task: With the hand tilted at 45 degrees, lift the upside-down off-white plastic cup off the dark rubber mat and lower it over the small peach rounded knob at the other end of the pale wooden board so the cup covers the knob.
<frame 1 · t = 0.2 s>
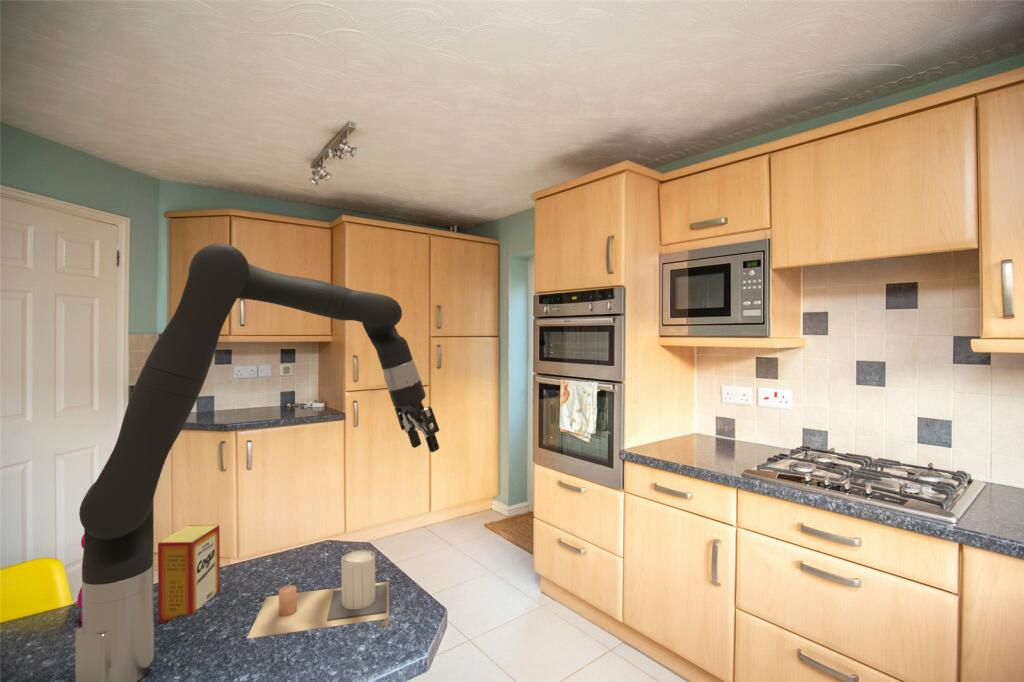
hand: (425, 448, 113), 30 cm above the countertop, tool tilted 20°, fingers open, 8 cm apart
cover cup: (358, 600, 100), point 2 cm above the countertop, touching board
red cream cardboard box: (190, 610, 101), on the countertop
board: (325, 614, 98), on the countertop
peach rounded knob: (287, 611, 97), resting on board
pepper mill: (101, 617, 98), on the countertop
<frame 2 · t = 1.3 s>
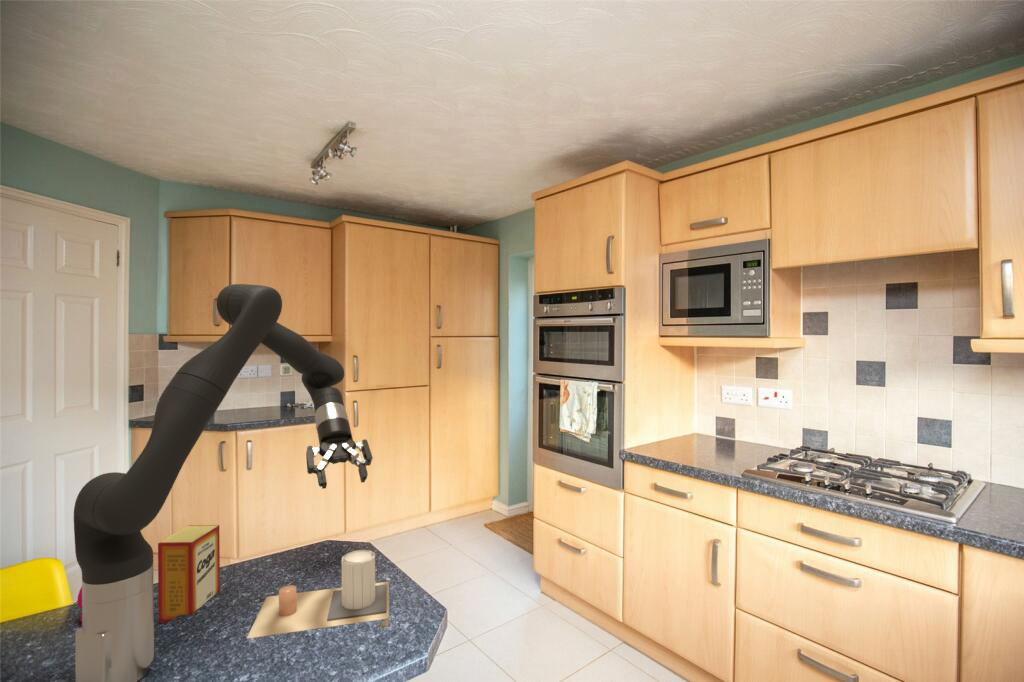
hand: (344, 483, 110), 23 cm above the countertop, tool tilted 45°, fingers open, 8 cm apart
nothing on the countertop moved.
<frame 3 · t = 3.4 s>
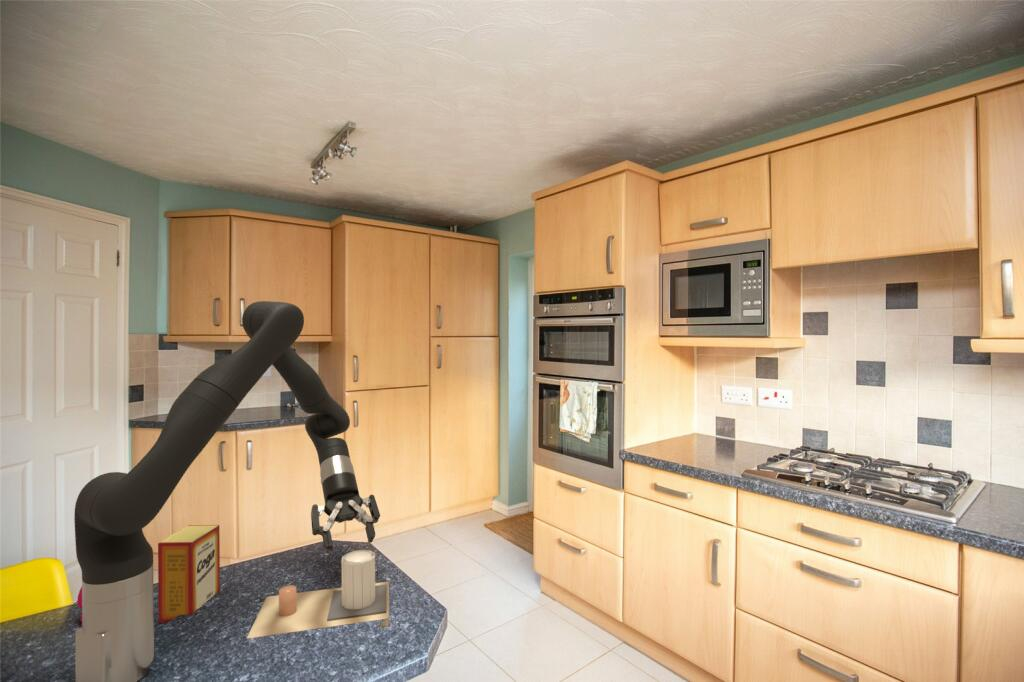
hand: (351, 545, 105), 11 cm above the countertop, tool tilted 45°, fingers open, 8 cm apart
nothing on the countertop moved.
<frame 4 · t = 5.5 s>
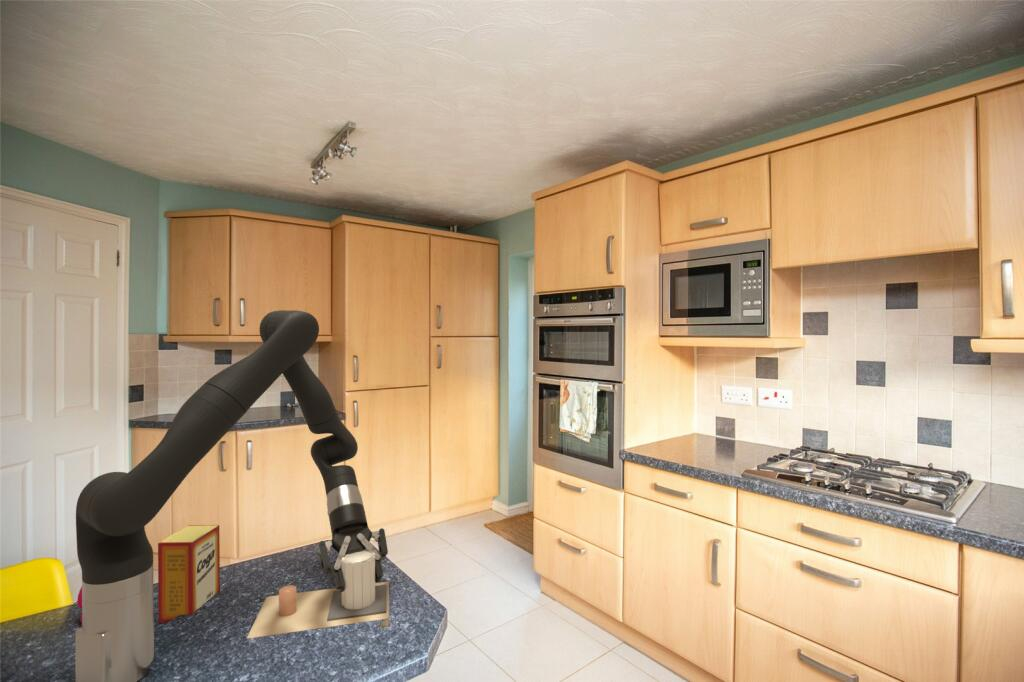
hand: (360, 585, 99), 6 cm above the countertop, tool tilted 45°, fingers closed on cover cup, 6 cm apart
cover cup: (358, 600, 100), point 2 cm above the countertop, touching board, gripper
everything else where it was.
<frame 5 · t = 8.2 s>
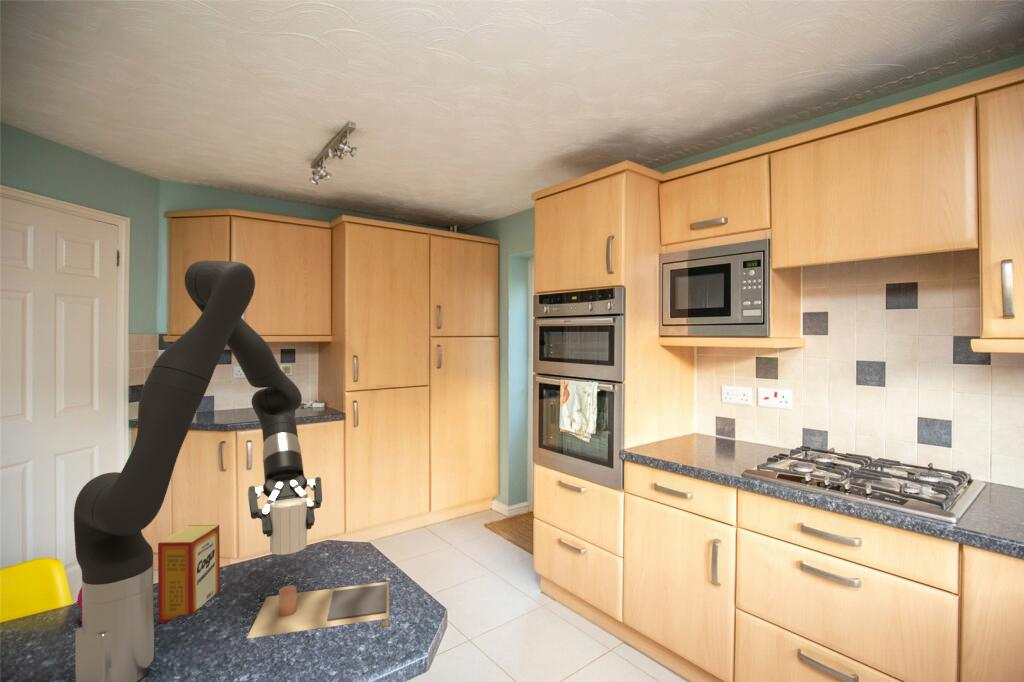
hand: (289, 530, 95), 18 cm above the countertop, tool tilted 45°, fingers closed on cover cup, 6 cm apart
cover cup: (288, 547, 97), point 14 cm above the countertop, touching gripper
everything else where it was.
when the fingers open (7 cm above the countertop, at t = 11.1 s): cover cup drops 1 cm, resting on board.
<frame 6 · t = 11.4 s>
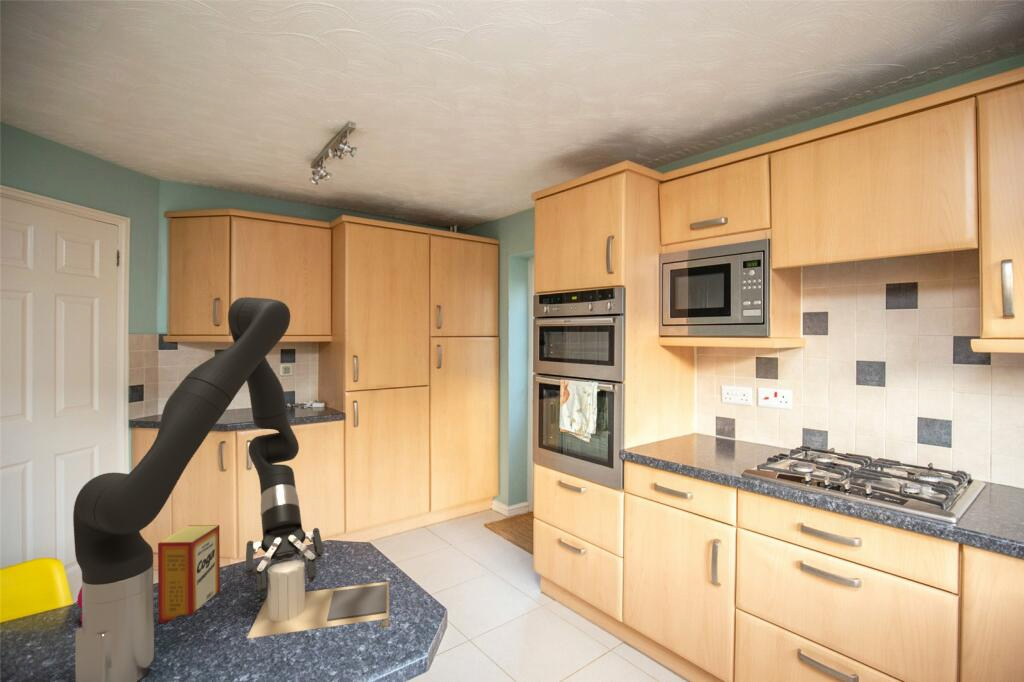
hand: (288, 586, 96), 7 cm above the countertop, tool tilted 45°, fingers open, 8 cm apart
cover cup: (286, 611, 97), point 1 cm above the countertop, touching board
everything else where it was.
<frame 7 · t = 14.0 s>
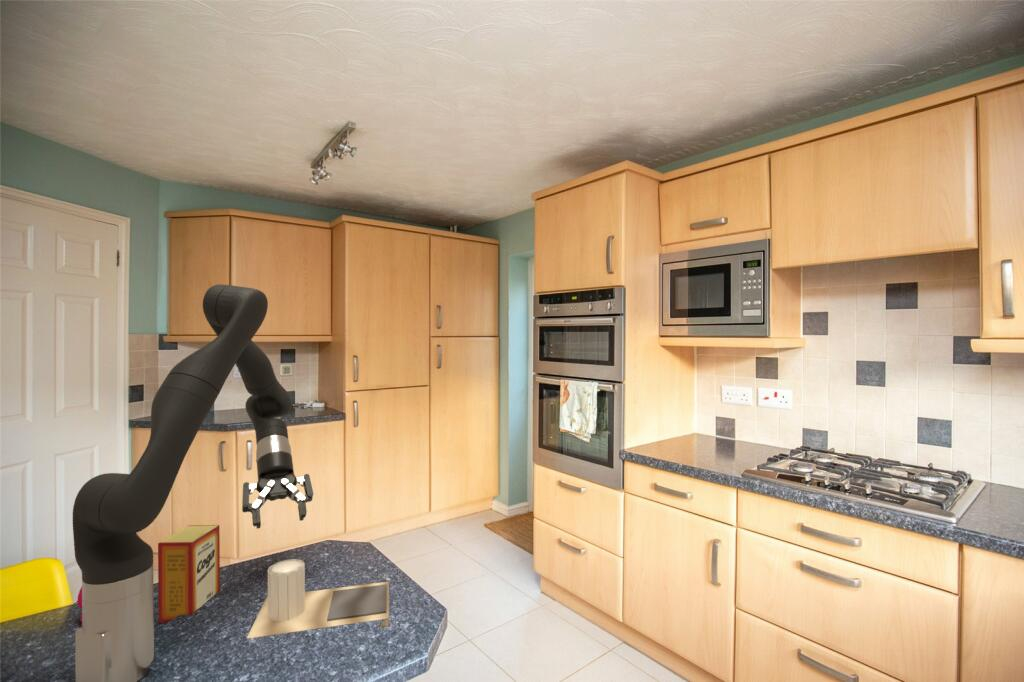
hand: (280, 522, 106), 16 cm above the countertop, tool tilted 45°, fingers open, 8 cm apart
nothing on the countertop moved.
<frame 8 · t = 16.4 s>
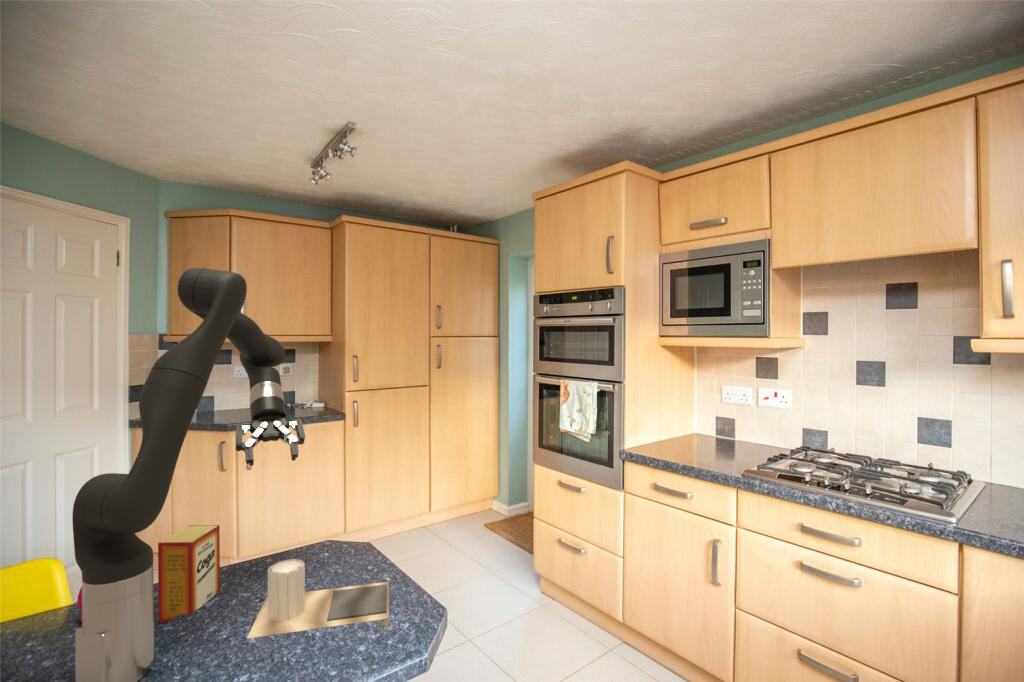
hand: (273, 461, 109), 29 cm above the countertop, tool tilted 45°, fingers open, 8 cm apart
nothing on the countertop moved.
at the end: cover cup 0.2 cm from the peach rounded knob (horizontally); cover cup point 1.5 cm above the countertop; cover cup tilted 0° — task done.
